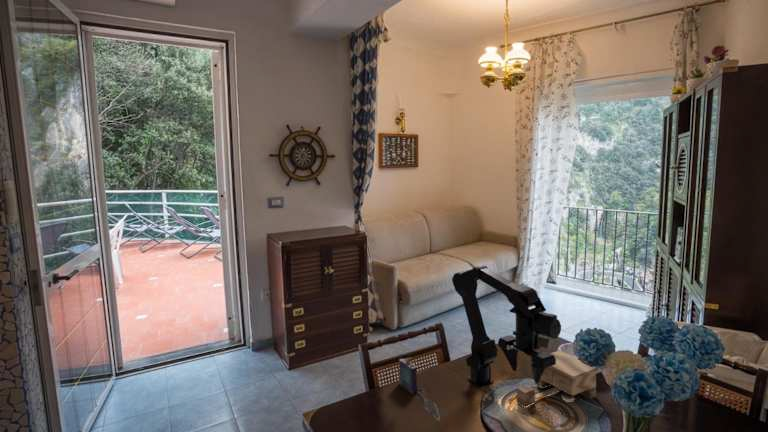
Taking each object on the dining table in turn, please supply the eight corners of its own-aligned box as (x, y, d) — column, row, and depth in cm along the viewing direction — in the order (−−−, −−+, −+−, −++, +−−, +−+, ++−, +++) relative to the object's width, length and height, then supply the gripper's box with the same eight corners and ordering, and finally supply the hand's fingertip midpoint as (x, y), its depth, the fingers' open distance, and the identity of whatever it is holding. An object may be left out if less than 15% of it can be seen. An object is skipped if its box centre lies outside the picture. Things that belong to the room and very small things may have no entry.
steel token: (568, 404, 127) (568, 400, 127) (558, 398, 130) (558, 394, 130) (577, 401, 129) (577, 397, 128) (566, 395, 132) (566, 391, 132)
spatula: (525, 408, 125) (525, 392, 125) (517, 402, 129) (516, 387, 128) (562, 393, 133) (562, 379, 132) (553, 389, 136) (553, 374, 135)
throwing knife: (424, 388, 140) (424, 387, 140) (447, 421, 121) (447, 420, 121) (412, 390, 139) (412, 388, 139) (433, 424, 120) (433, 422, 119)
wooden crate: (571, 407, 125) (572, 376, 124) (534, 386, 138) (534, 358, 137) (597, 397, 130) (598, 367, 129) (559, 377, 143) (559, 350, 142)
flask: (398, 383, 144) (397, 354, 143) (405, 381, 145) (404, 352, 144) (413, 395, 136) (412, 364, 135) (420, 392, 137) (419, 362, 136)
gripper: (568, 333, 121) (568, 383, 122) (522, 315, 137) (522, 359, 139) (542, 341, 116) (541, 393, 118) (496, 321, 133) (497, 367, 134)
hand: (525, 376), depth 127 cm, fingers open, 9 cm apart
